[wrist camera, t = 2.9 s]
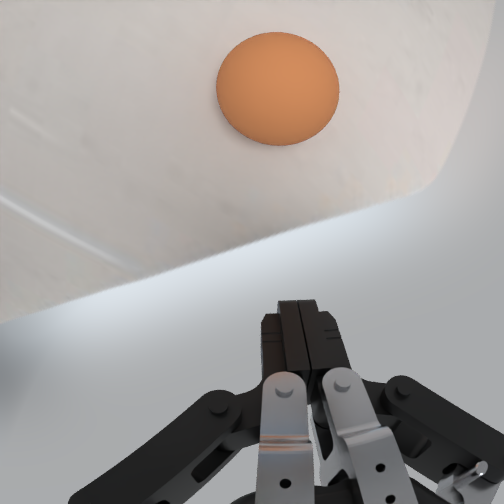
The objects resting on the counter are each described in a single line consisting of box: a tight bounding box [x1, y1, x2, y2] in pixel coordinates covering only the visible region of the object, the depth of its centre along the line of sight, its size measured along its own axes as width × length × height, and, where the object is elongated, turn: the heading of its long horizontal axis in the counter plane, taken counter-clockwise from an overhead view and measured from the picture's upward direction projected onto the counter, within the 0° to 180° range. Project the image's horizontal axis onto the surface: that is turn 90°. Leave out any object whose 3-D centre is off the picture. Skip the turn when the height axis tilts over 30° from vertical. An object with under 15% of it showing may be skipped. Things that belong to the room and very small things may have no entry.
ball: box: [216, 32, 339, 146], centre depth 12 cm, size 6×6×6 cm
